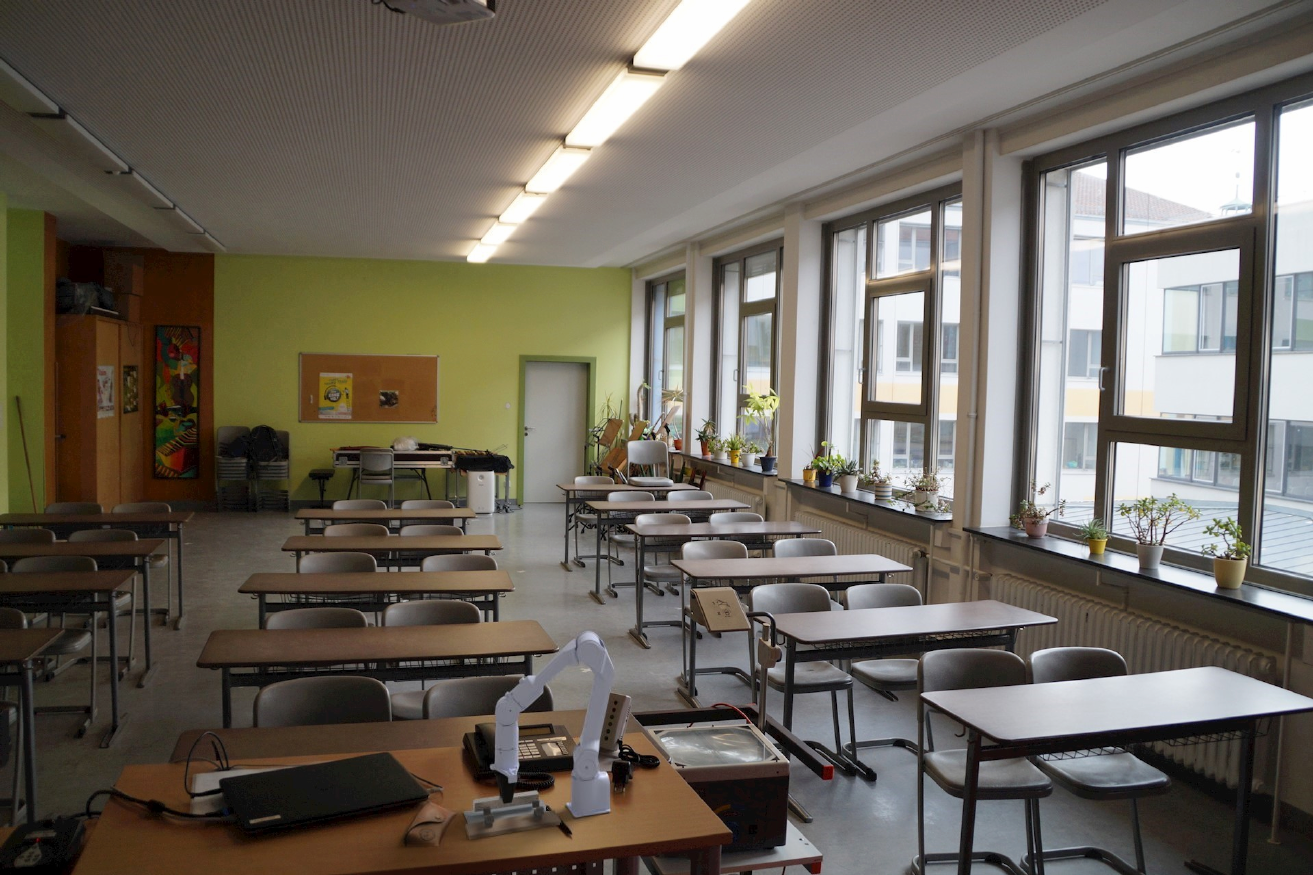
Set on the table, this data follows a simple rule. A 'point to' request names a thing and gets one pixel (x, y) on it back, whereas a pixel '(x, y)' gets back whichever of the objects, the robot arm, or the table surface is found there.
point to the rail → (498, 803)
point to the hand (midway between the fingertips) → (506, 800)
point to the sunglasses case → (429, 826)
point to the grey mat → (502, 812)
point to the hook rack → (512, 822)
